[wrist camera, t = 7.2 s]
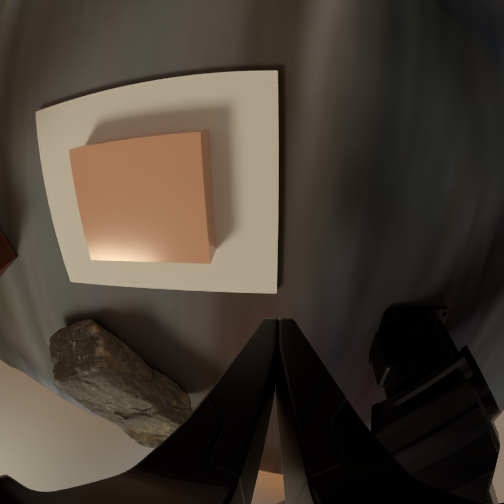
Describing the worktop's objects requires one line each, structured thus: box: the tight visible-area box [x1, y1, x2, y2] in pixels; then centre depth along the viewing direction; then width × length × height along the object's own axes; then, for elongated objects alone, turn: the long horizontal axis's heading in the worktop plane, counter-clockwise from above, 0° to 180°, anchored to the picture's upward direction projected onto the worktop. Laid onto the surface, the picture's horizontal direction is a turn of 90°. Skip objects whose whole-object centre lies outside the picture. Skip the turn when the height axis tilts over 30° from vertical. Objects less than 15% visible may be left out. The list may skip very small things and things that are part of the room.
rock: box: [49, 319, 193, 448], centre depth 26 cm, size 17×7×10 cm
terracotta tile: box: [69, 129, 216, 264], centre depth 18 cm, size 2×8×9 cm
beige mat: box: [35, 70, 279, 293], centre depth 19 cm, size 18×15×1 cm
